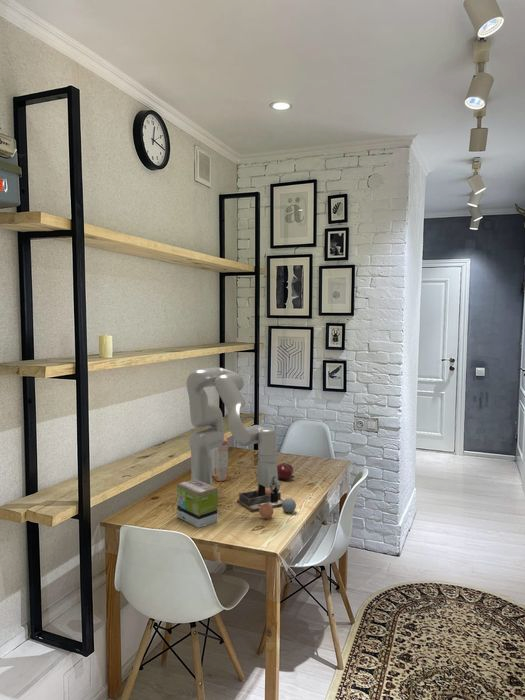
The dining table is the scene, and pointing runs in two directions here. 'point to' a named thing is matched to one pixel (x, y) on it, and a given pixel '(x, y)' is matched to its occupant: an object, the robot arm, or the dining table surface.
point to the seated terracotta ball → (267, 491)
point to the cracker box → (220, 461)
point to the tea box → (197, 502)
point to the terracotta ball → (266, 511)
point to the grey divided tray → (257, 500)
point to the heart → (284, 471)
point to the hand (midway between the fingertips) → (267, 498)
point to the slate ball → (288, 505)
